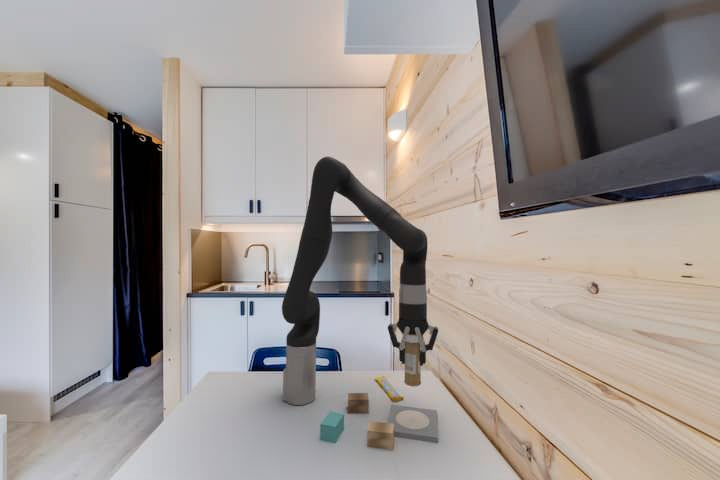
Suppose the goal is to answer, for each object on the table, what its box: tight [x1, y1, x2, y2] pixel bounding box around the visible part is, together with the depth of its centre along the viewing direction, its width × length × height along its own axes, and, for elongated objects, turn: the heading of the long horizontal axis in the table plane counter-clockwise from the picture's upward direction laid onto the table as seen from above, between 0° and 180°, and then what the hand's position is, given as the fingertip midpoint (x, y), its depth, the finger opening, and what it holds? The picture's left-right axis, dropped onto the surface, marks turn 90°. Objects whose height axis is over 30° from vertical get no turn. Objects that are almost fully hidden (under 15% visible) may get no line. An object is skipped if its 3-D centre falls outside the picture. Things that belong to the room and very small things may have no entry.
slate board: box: [386, 403, 439, 444], centre depth 82 cm, size 13×13×1 cm
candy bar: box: [374, 375, 404, 403], centre depth 102 cm, size 17×4×2 cm, turn 16°
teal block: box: [319, 411, 345, 444], centre depth 77 cm, size 4×6×4 cm, turn 162°
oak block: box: [366, 420, 395, 451], centre depth 74 cm, size 6×4×4 cm, turn 79°
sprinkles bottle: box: [403, 334, 422, 388], centre depth 82 cm, size 5×5×13 cm
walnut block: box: [347, 392, 370, 414], centre depth 89 cm, size 6×4×4 cm, turn 92°
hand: (412, 363), depth 82 cm, fingers closed on sprinkles bottle, 4 cm apart
